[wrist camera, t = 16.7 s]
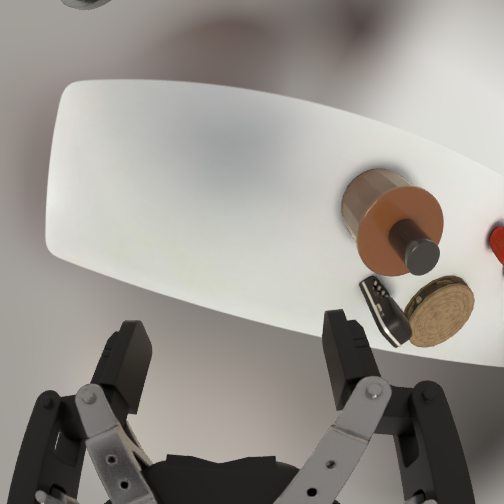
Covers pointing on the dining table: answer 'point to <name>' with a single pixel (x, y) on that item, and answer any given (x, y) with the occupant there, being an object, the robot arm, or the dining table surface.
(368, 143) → the dining table surface
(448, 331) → the wood log slice
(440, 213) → the crock lid
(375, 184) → the crock
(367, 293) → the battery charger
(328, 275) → the dining table surface
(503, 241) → the apple
